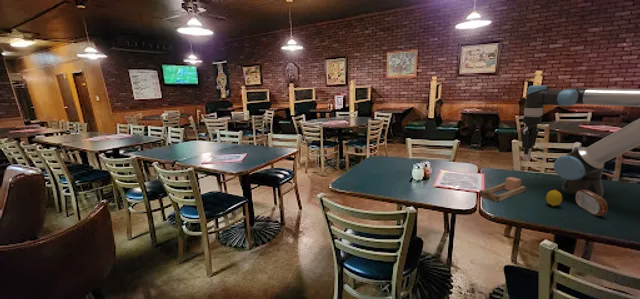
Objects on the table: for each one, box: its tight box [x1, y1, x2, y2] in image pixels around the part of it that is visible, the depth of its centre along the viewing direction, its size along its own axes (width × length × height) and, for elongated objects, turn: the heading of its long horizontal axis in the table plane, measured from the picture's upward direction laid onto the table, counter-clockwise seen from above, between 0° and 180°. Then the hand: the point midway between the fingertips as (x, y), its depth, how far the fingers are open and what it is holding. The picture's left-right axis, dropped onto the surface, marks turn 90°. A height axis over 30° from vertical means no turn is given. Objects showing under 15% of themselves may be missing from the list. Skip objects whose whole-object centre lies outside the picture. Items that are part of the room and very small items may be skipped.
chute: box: [478, 182, 527, 203], centre depth 138 cm, size 9×25×3 cm, turn 117°
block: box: [503, 176, 522, 191], centre depth 142 cm, size 5×5×6 cm
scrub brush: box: [574, 190, 609, 217], centre depth 116 cm, size 15×3×8 cm, turn 168°
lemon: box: [545, 189, 563, 207], centre depth 122 cm, size 6×6×8 cm
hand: (526, 159), depth 144 cm, fingers closed
